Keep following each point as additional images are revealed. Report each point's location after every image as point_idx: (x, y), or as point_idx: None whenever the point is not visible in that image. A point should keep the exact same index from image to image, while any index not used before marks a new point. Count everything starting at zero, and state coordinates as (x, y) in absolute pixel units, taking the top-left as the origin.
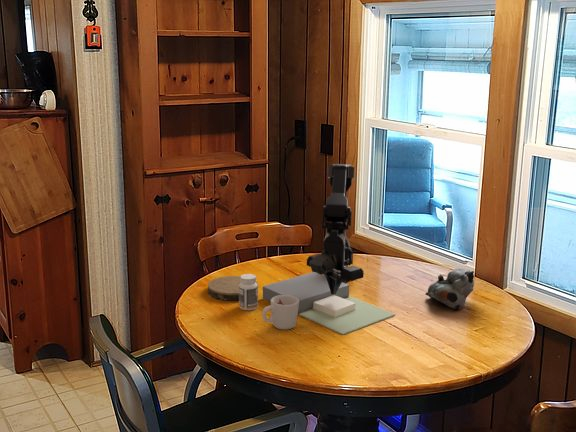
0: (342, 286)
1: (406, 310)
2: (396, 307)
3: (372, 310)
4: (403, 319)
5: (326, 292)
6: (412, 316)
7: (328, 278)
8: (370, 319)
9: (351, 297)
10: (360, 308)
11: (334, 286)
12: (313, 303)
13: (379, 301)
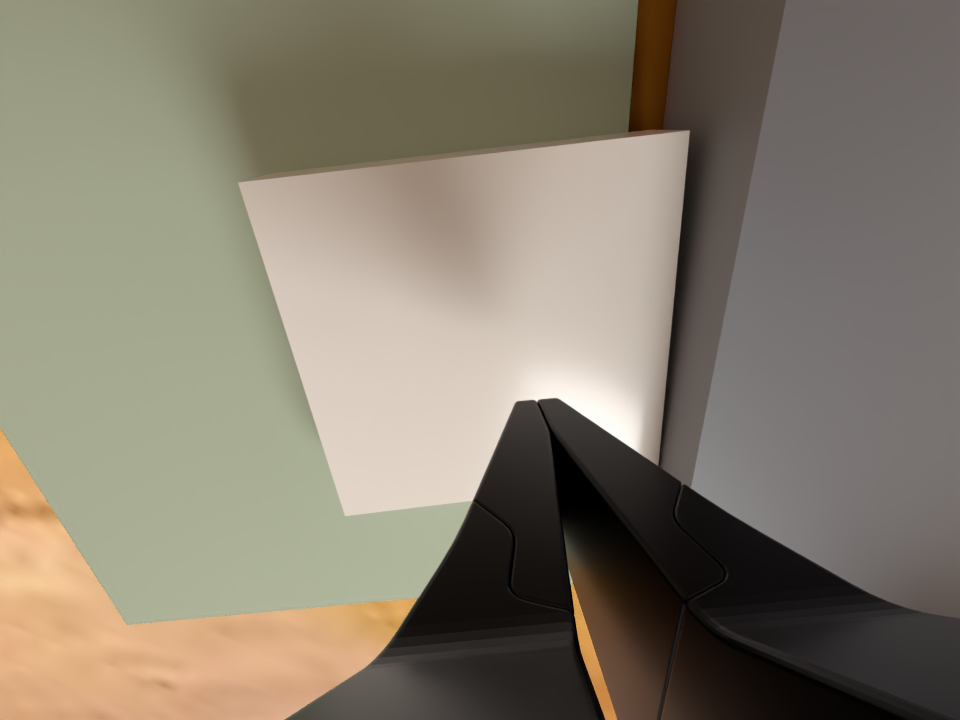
0: None
1: (195, 694)
2: (269, 680)
3: (266, 552)
4: (40, 616)
5: (702, 418)
6: (79, 674)
7: (728, 596)
8: (74, 435)
9: None
10: None
11: (477, 496)
12: (676, 131)
13: None
